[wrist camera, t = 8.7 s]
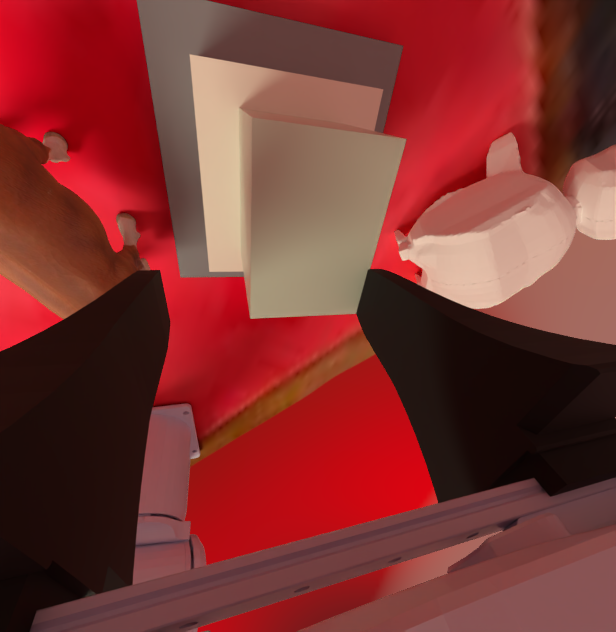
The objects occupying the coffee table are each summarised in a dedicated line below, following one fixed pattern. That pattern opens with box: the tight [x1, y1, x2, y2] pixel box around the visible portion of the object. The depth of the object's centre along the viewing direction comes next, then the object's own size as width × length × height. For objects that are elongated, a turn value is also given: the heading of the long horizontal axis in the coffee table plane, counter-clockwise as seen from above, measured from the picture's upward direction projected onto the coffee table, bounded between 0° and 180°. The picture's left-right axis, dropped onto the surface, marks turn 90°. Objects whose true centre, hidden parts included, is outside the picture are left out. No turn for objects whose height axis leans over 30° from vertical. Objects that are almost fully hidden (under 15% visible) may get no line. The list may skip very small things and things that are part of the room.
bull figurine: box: [0, 124, 150, 319], centre depth 12 cm, size 4×13×8 cm, turn 15°
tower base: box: [137, 0, 403, 277], centre depth 16 cm, size 13×12×4 cm
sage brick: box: [239, 108, 407, 319], centre depth 12 cm, size 6×4×6 cm
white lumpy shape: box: [394, 132, 616, 309], centre depth 20 cm, size 9×8×15 cm
